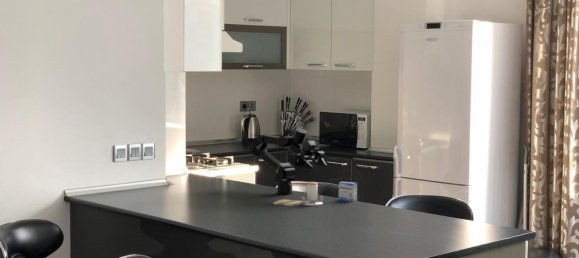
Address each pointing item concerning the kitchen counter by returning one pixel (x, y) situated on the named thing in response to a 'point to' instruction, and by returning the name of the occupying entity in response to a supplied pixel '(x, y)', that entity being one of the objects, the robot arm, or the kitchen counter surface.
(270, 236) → the kitchen counter surface
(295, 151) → the robot arm
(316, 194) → the whitish cup
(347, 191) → the medicine box
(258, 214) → the kitchen counter surface
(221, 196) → the kitchen counter surface
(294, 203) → the board
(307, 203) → the clear glass bowl
